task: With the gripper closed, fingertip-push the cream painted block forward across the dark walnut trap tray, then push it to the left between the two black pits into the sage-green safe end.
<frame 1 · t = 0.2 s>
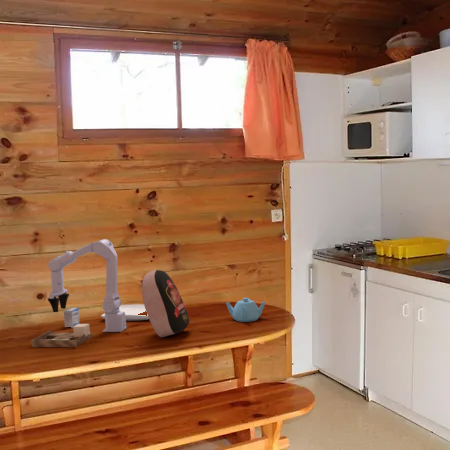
hand: (59, 310, 285), 10 cm above the table, fingers open, 7 cm apart
teapot: (246, 319, 291), on the table
trap tray: (63, 341, 265), on the table
medicine box: (72, 326, 294), on the table
cream block: (81, 334, 269), point 2 cm above the table, touching trap tray
packaged food: (166, 334, 269), on the table
square plate: (134, 316, 311), on the table
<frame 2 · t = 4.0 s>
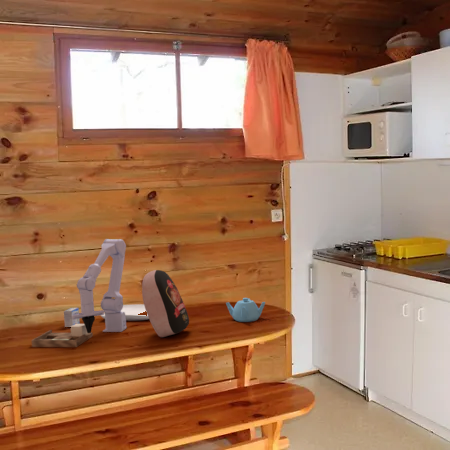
hand: (89, 332, 268), 3 cm above the table, fingers closed
cream block: (79, 334, 269), point 2 cm above the table, touching gripper, trap tray
everything else where it was.
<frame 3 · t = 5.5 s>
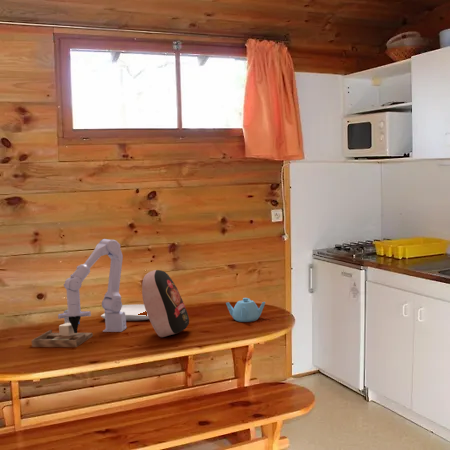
hand: (75, 332, 269), 3 cm above the table, fingers closed
cream block: (68, 333, 272), point 2 cm above the table, touching gripper, trap tray
everything else where it was.
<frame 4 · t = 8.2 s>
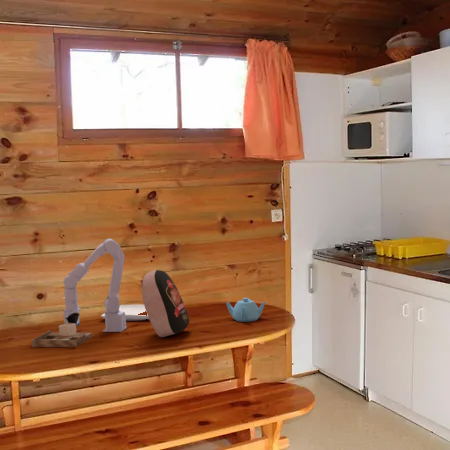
hand: (73, 329, 276), 3 cm above the table, fingers closed
cream block: (67, 334, 271), point 2 cm above the table, touching gripper
everything else where it was.
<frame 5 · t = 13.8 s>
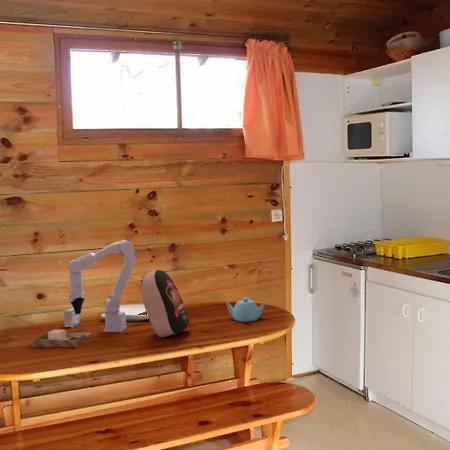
hand: (78, 313, 276), 10 cm above the table, fingers closed
cream block: (57, 341, 260), point 2 cm above the table, touching trap tray
everything else where it was.
at the end: cream block inside the target area on the trap tray (0.4 cm from its centre), point 1.6 cm above the trap tray's base; cream block tilted 0° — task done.
